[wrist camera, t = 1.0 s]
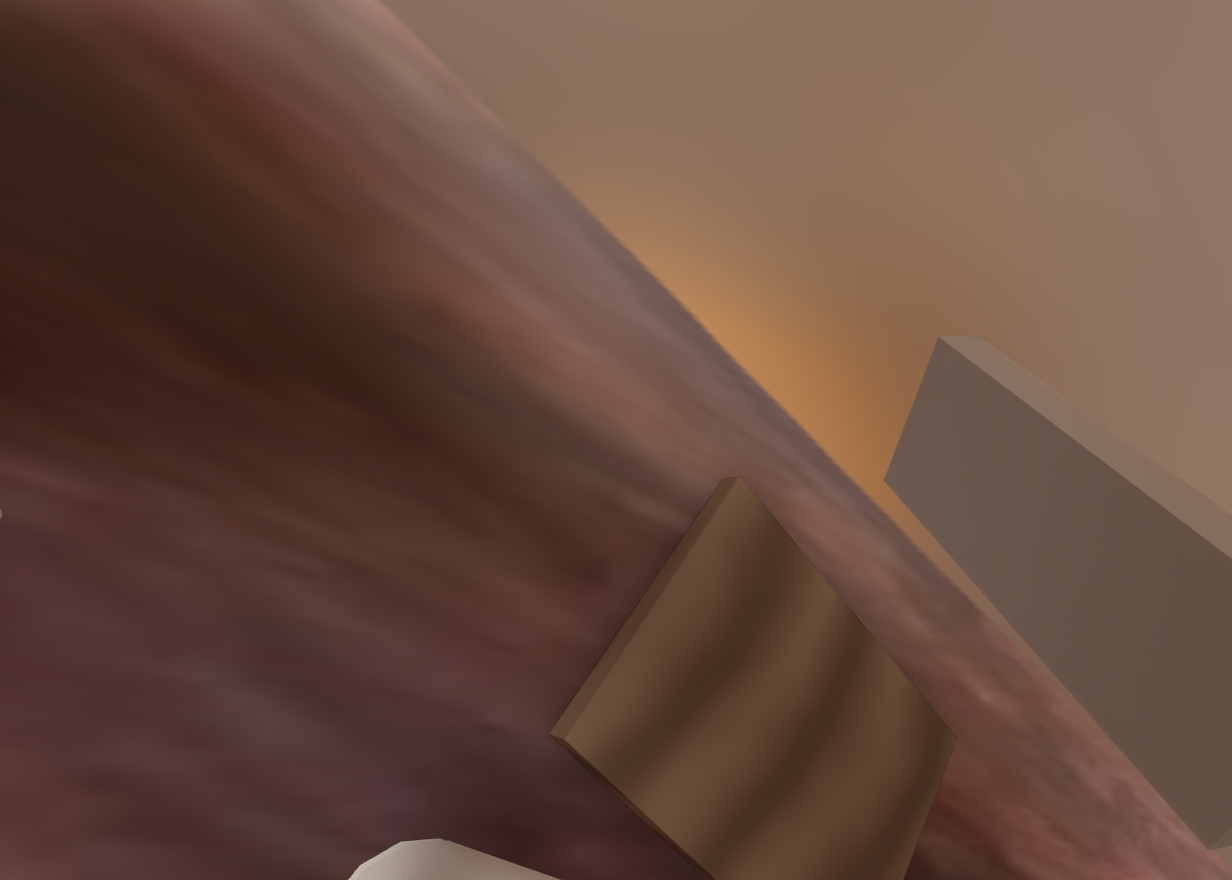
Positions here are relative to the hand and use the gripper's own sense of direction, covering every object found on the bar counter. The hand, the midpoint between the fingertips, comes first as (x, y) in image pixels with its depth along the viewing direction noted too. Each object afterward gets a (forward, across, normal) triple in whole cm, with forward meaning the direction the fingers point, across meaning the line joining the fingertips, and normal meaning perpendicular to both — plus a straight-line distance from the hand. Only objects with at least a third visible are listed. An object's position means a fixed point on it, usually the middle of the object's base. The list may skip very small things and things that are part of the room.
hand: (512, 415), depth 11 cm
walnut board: (+11, +15, -24) cm, 30 cm away
